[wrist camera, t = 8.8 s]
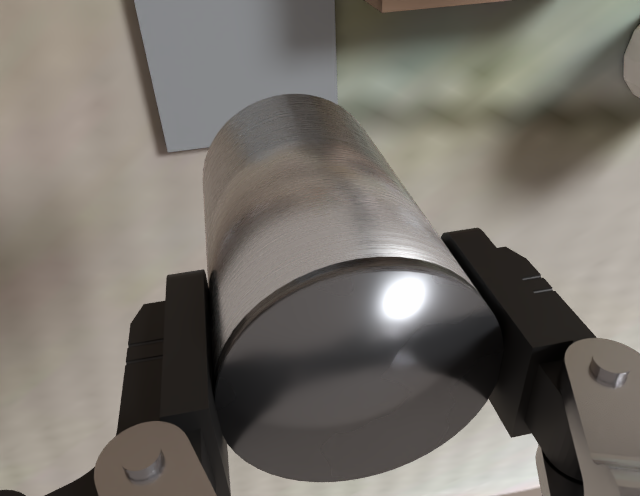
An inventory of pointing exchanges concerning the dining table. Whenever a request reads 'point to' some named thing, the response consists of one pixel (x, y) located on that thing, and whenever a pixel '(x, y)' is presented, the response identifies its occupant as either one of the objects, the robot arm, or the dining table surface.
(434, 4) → the housing
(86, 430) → the dining table surface
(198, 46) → the mat
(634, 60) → the white cup
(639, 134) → the dining table surface
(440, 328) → the shiny metal cylinder
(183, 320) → the robot arm
